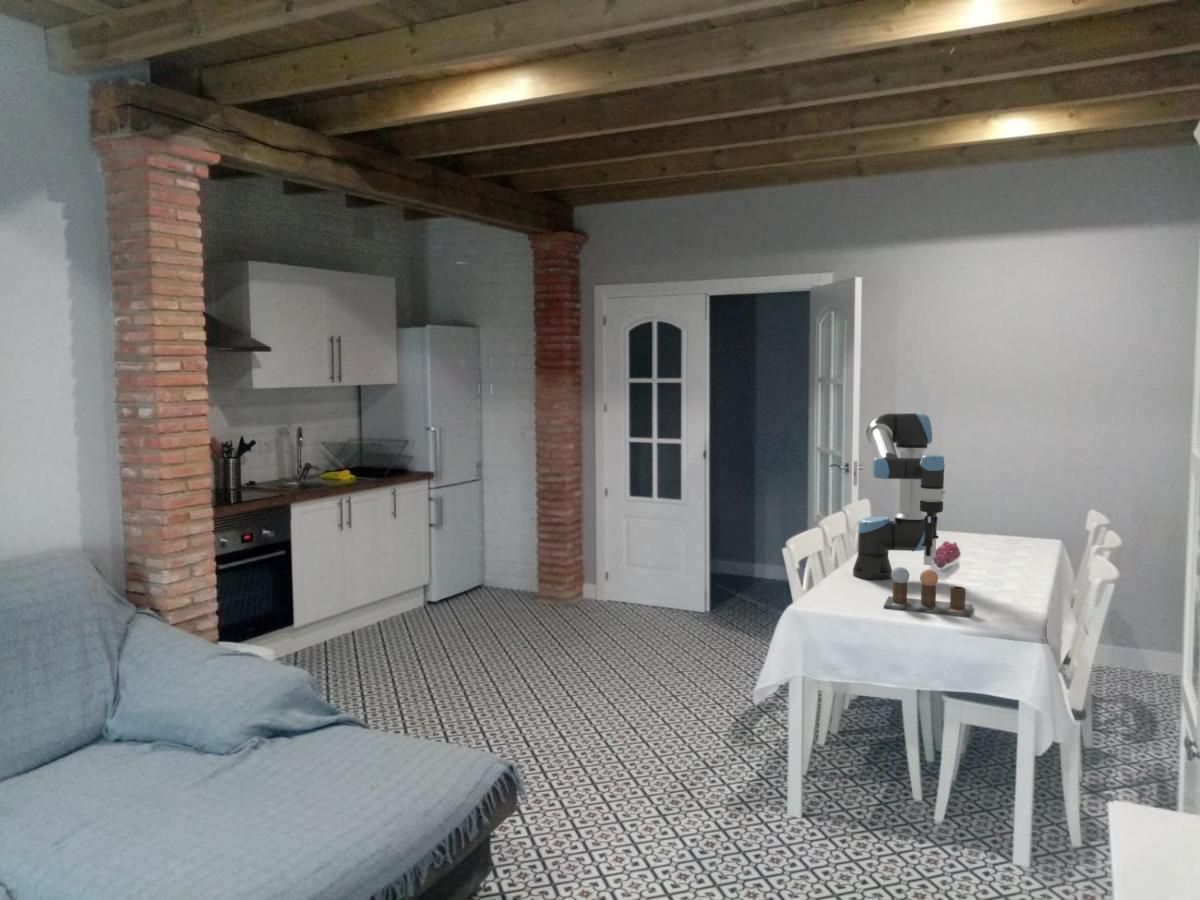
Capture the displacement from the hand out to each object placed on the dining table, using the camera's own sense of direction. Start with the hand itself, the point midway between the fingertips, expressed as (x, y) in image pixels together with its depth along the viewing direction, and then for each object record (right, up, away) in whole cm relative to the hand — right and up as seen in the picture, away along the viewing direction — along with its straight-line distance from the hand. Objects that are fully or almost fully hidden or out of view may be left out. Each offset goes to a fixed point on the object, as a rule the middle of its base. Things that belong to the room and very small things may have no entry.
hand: (929, 561), depth 316 cm
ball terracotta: (0, -9, +1) cm, 9 cm away
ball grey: (-9, -9, +5) cm, 13 cm away
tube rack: (0, -16, +2) cm, 17 cm away
